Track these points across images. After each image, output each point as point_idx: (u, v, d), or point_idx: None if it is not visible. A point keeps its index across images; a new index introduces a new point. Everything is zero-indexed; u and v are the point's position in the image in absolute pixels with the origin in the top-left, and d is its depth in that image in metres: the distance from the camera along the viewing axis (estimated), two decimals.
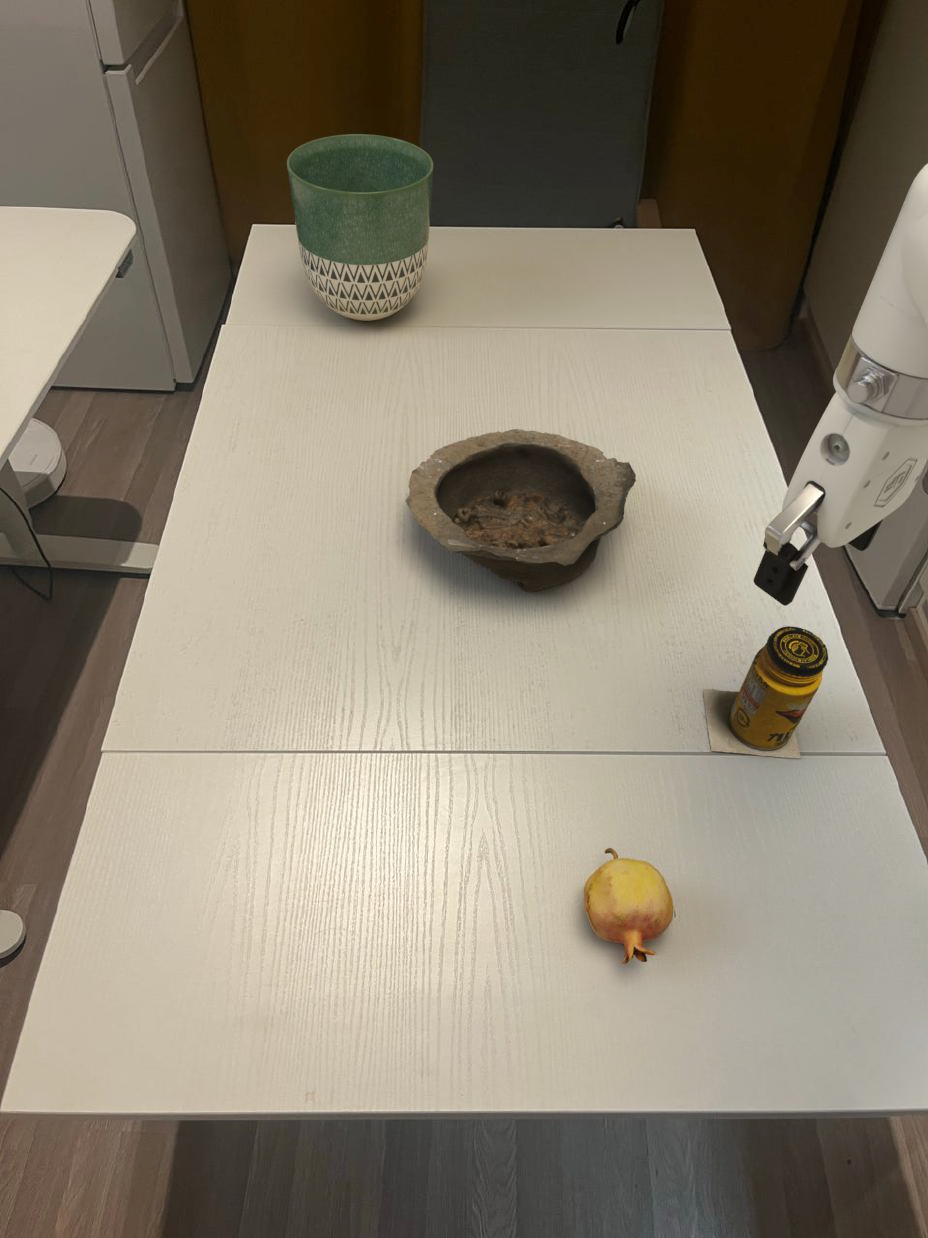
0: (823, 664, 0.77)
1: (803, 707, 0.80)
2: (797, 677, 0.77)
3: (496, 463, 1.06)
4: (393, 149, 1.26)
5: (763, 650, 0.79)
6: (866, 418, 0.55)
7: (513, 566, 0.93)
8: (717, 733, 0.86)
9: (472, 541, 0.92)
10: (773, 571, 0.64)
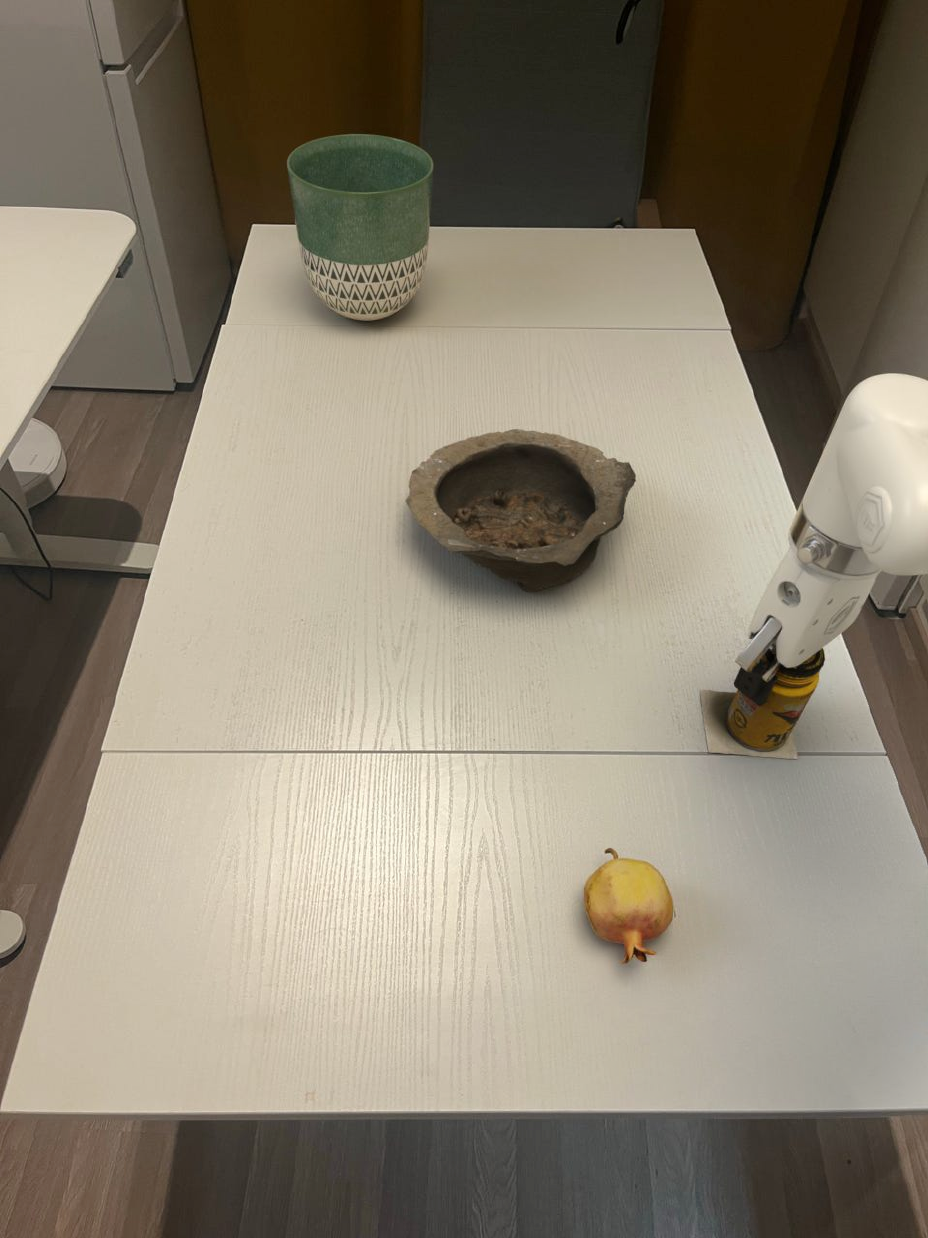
0: (820, 665, 0.76)
1: (800, 708, 0.80)
2: (794, 678, 0.77)
3: (496, 463, 1.06)
4: (393, 149, 1.26)
5: None
6: (813, 572, 0.67)
7: (513, 566, 0.93)
8: (714, 734, 0.85)
9: (472, 541, 0.92)
10: (749, 680, 0.78)
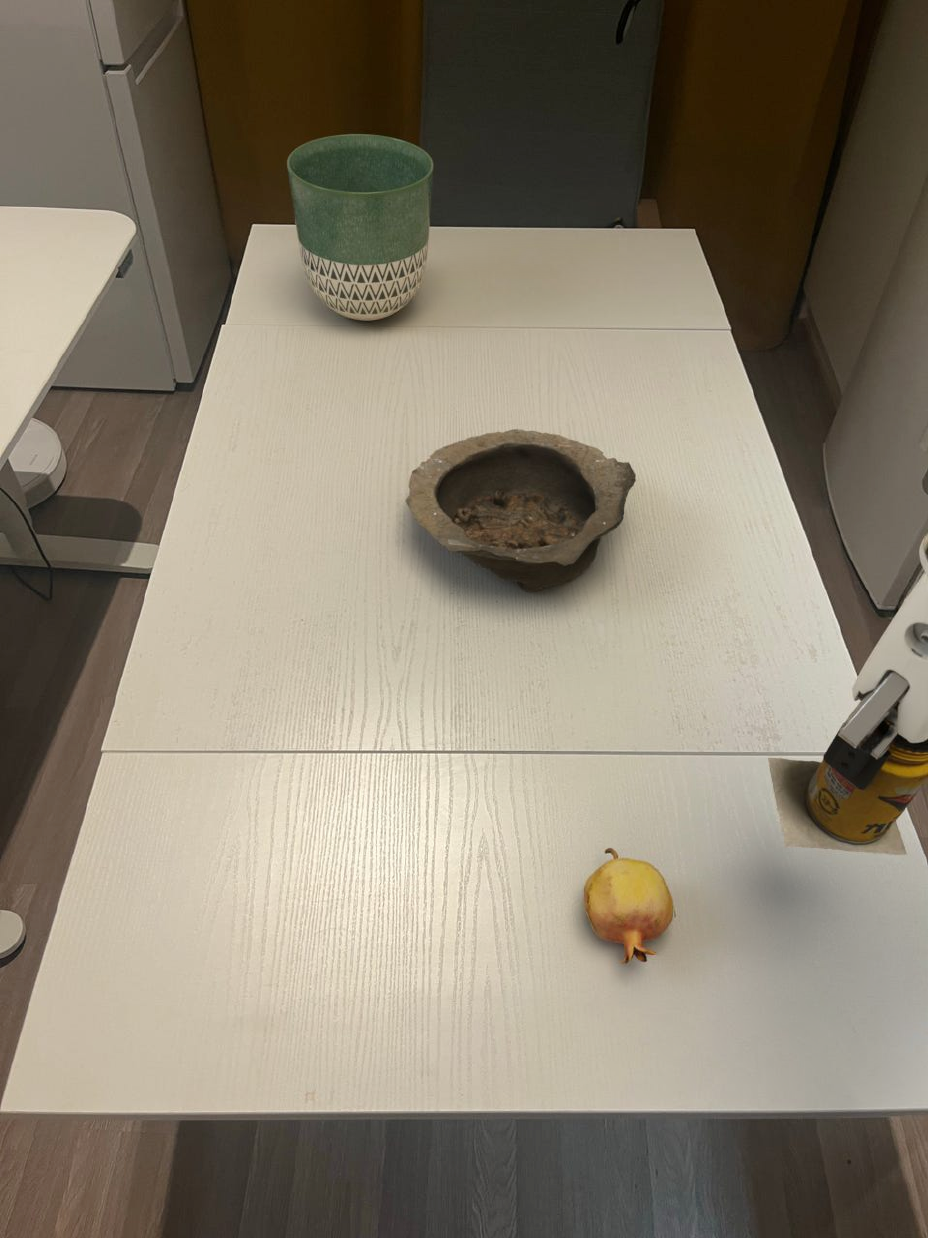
0: None
1: (916, 791, 0.58)
2: (913, 753, 0.55)
3: (495, 464, 1.06)
4: (393, 149, 1.26)
5: None
6: None
7: (512, 566, 0.93)
8: (792, 820, 0.64)
9: (472, 541, 0.92)
10: (849, 755, 0.56)
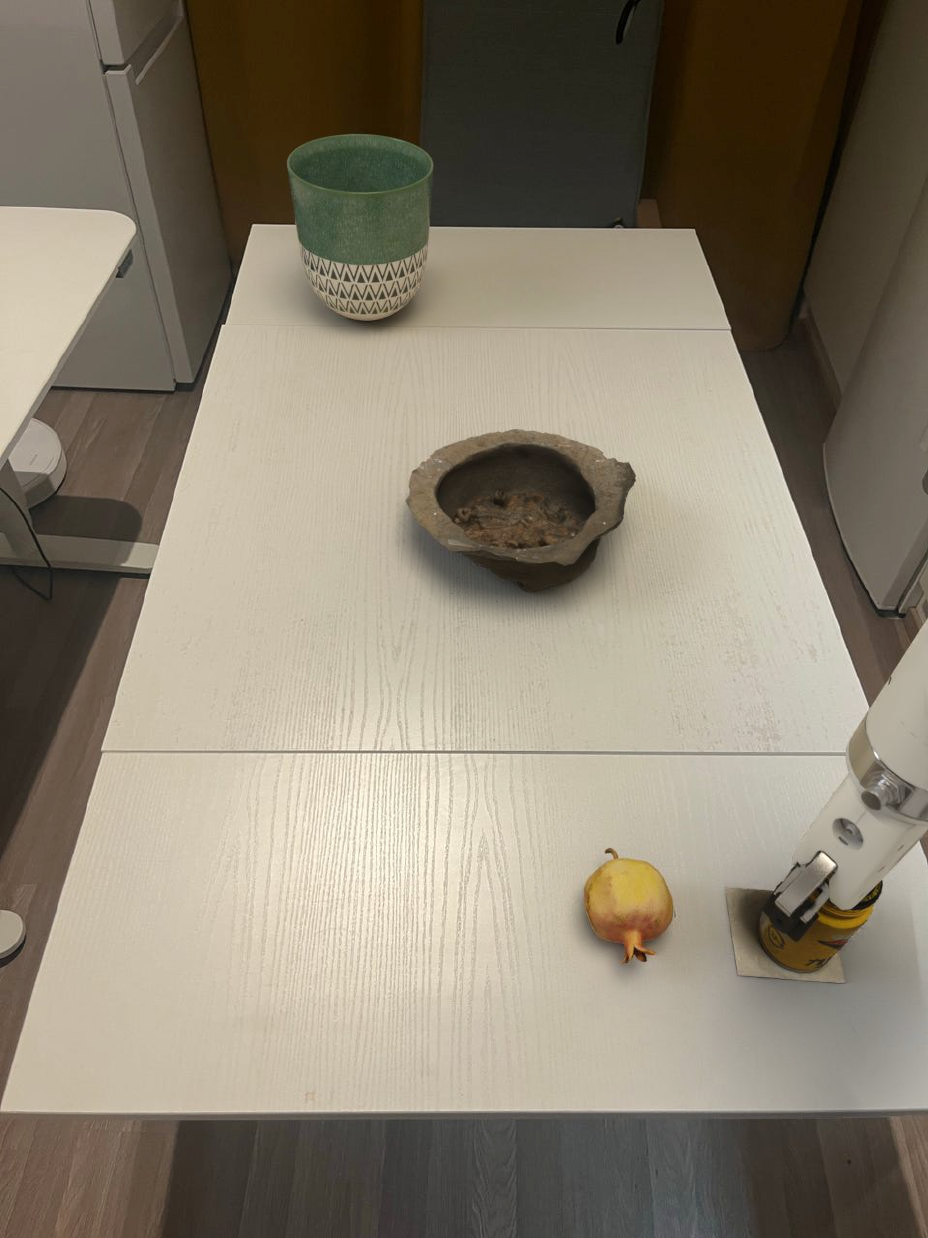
0: (878, 895, 0.63)
1: (851, 935, 0.66)
2: (845, 911, 0.63)
3: (496, 463, 1.06)
4: (393, 149, 1.26)
5: None
6: (881, 815, 0.53)
7: (512, 566, 0.93)
8: (744, 949, 0.72)
9: (472, 541, 0.92)
10: (782, 914, 0.62)
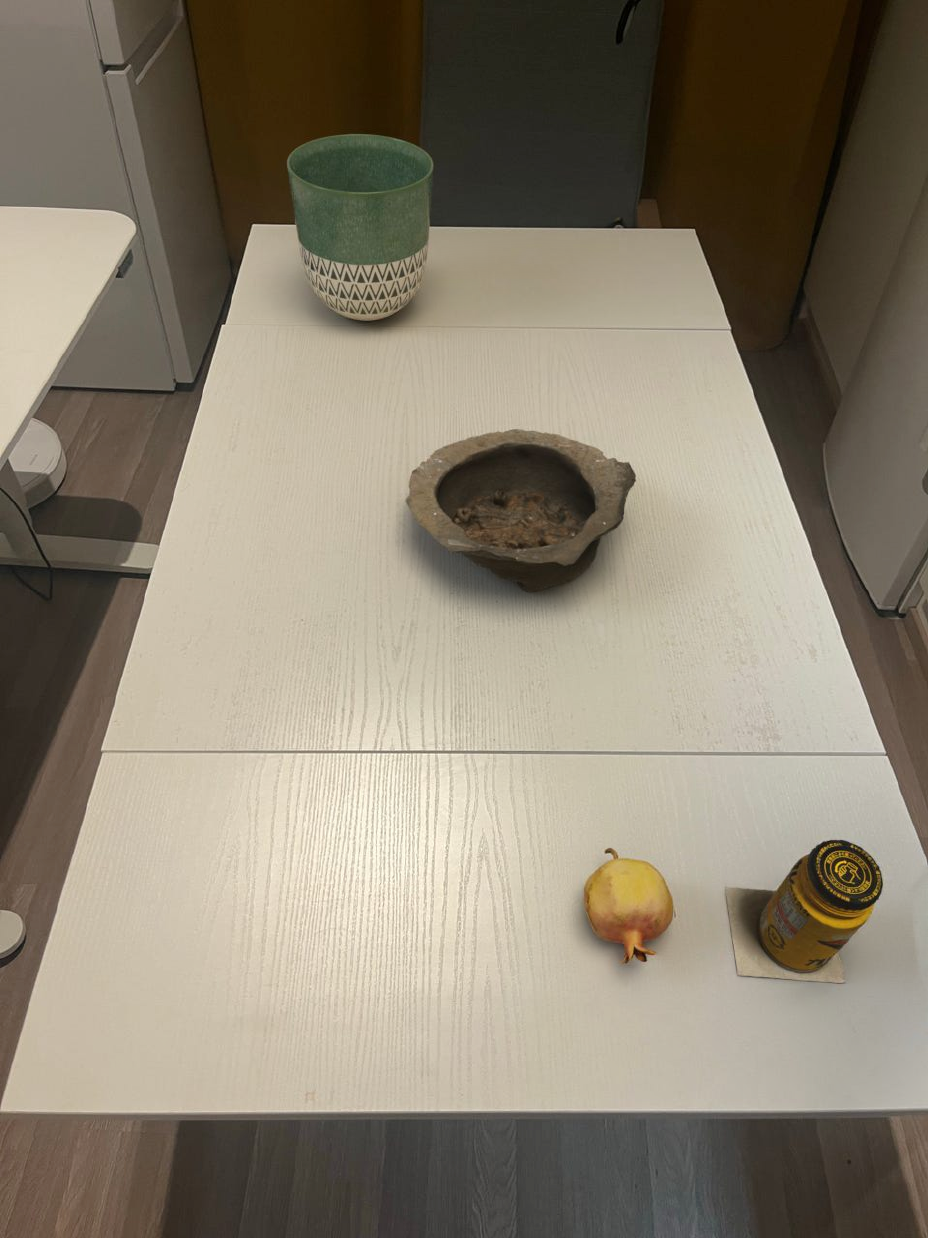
0: (878, 895, 0.63)
1: (851, 936, 0.66)
2: (846, 911, 0.63)
3: (496, 463, 1.06)
4: (393, 149, 1.26)
5: (803, 869, 0.65)
6: None
7: (513, 567, 0.93)
8: (744, 949, 0.72)
9: (472, 541, 0.92)
10: None
